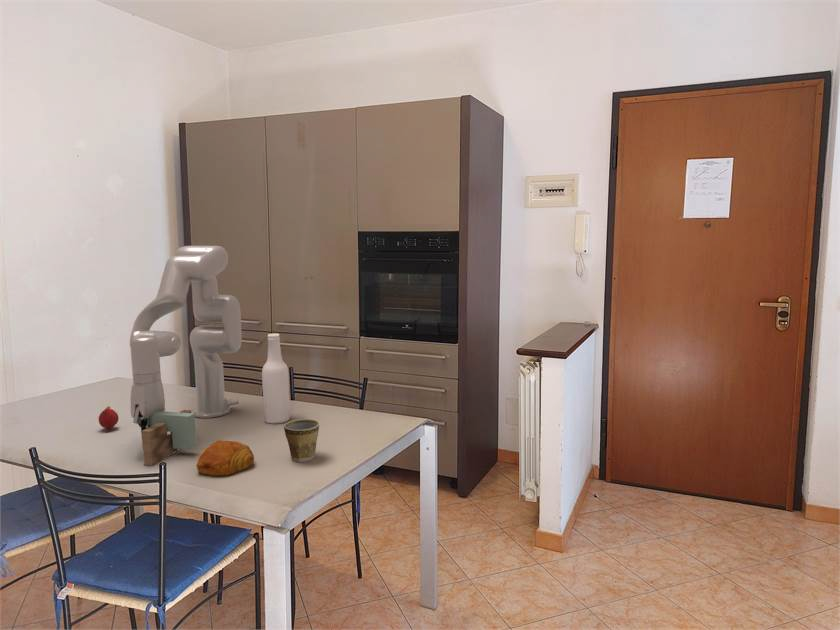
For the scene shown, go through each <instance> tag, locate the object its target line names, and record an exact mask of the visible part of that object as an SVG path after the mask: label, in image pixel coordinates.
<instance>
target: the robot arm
mask: <svg viewBox="0 0 840 630" xmlns="http://www.w3.org/2000/svg"><path fill="white" fill-rule="evenodd" d="M228 264H229V254H228V251H227V250H226V249H225V247H223V246H222V245H220V246H219V245H185V246H181V247H179V248H177V250H176V251H175V255H174V256H171V257H169V258H168V259H167V261H166V262H165V265H164V269H163V272H162V277H161V280H160V283H159V284H160V285H159V287H158V291H157V294H156V297H155V298H154V299H153V300H152V301H151V302H149V303H148V304H147V305H145V307H144V308H143V309H142V310H141V311H140V312H139V313H138V315H137V317H136V318H135V320H134V322H133V327H132V328H131V332H130V338H129V348H130V357H131V359H130V360H131V361H130V362H131V370H132V383H133V384H131V387H130V388H131V389H130V390H131V391H130V416H131V418H133V419H132V423H133V424H136V425H138V427H139V428H140V431H141V435H142V431H143V430H145V429H147V428H149V427H150V417H151V416H152V414H154V413H156V412H158V411H165V412H166V401H165V400H166V399H165V398H166V397H165V392H164V385H163V382H162V373H161V363H160V362H161V361H160V359H161V358H163V357H170V356H172V355H174V354H176V353H177V352H178V351H179V349H181V348H180V347H181V343H182V342H181V338H180V336H179V335H178V334H177V333H176V332H173V331H169V330H168V331H167V330H166V331H165V330H151V328H152V327H153V325H154V323H156V322H157V320H159V319H160V318H162V317H164V316H166V315H169V314H170V313H173V312H175V311H178V310H179V309H181V308H183V307H184V306H185V304H186V300H187V296H188V293H189V290H190V289H189V288H190V286H191V292H192V293H191V295H192V297H191V298H192V312H193V316H194V318H195V319H196V320H197V321H199V322H204V323H205V322H206V323H223V325H211V324H210V325H207V324H206V325H198V326H196V327H194V328H193V329H192V330H191V332H190V334H189V343H190V347H191V351H192V355H193V356H192V357H193V361H194V376H195V377H194V378H195V393H196V394H195V395H196V408H195V409H194V410H193V411H192V413H194V414H195V417H196V418H200V419H201V418H203V419H204V418H205V419H207V418H209V419H211V418H217V417H221V416H225V415H227V414H229V413H230V412H231V406H236V405H239V404H240V401H239V399H238V398H237V399H233V398H231V399H230V398H229V399H227V398H226V394H225V377H224V363H223V360H222V359H221V357H220V355H219V354H234V353H237V352H238V351H239V350H240V348H241V347H242V342H243V341H242V313H241V305H240V302H239V300H238V299H237V297H236V296H234V295H230V294H219V291H218V290H219V287H218V279H217V277H216V276H218V275H219V274H221V272H223V271H224V270H225V269H226V267H227V266H228ZM218 353H219V354H218ZM143 419H145V420H146V422H145V421H143Z"/></svg>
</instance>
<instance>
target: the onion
mask: <svg viewBox="0 0 840 630" xmlns="http://www.w3.org/2000/svg"><path fill="white" fill-rule="evenodd" d="M118 422H119V415H118V412H116V410H114V409H112V408H111V406H110V405H107V406H106V407H105V409H103V410H102V411H101V412H100V414H99V416H98V423H99V425H100V427H102V428H104V429H106V430H108V431H110V429H111V430H112V429H113V427H116V425H117V424H118Z"/></svg>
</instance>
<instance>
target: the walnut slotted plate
mask: <svg viewBox="0 0 840 630" xmlns="http://www.w3.org/2000/svg"><path fill="white" fill-rule="evenodd" d="M179 412H180V413H193V411H192V410H191V409H190V410H189V409H183V410H181V411H179ZM142 441H143V445H142V452H143V464H144V466H148V467H149V466H151V467H152V466H154V465H156V464H158V463H160V462H161V461H163V460H164V459H166V458H168V457H169V456H168V455H170V454H171V455H173V454H174V453H173V452H175V451H176V452H178V451H179V450H178V449H175V448H173V439H172V432H169V433H168V432H167V426H166V423H157V424H155V425H153V426H151V427H149V428H147V429H145V430H143V431H142V434H141V442H142ZM177 450H178V451H177ZM176 452H175V453H176ZM172 453H173V454H172ZM171 455H170V456H171ZM167 456H168V457H167ZM165 457H166V458H165ZM163 458H164V459H163ZM162 459H163V460H162ZM157 462H158V463H157Z"/></svg>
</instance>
